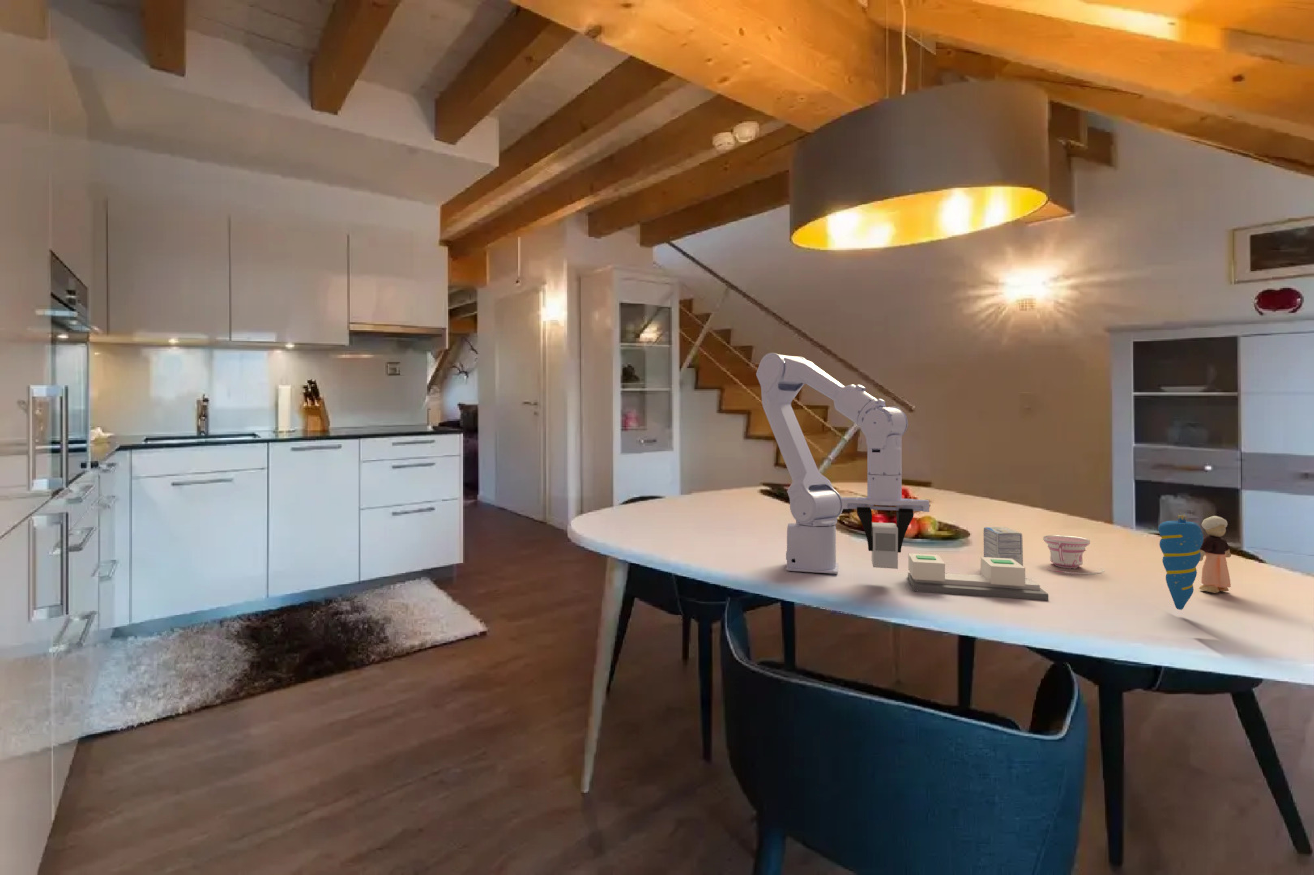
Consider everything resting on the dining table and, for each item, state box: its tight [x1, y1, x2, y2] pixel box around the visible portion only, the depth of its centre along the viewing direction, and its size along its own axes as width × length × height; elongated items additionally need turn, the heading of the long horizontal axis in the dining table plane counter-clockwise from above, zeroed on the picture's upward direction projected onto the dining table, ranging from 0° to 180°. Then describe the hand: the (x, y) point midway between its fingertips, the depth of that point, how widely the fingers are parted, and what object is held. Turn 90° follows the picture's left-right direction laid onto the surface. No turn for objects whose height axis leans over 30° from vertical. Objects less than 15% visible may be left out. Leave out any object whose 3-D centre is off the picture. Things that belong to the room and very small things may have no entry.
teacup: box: [1038, 534, 1105, 576], centre depth 120 cm, size 12×12×6 cm
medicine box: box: [983, 526, 1024, 567], centre depth 114 cm, size 8×4×9 cm, turn 168°
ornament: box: [1157, 510, 1204, 611], centre depth 91 cm, size 5×5×15 cm
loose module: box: [871, 521, 899, 570], centre depth 106 cm, size 4×6×7 cm, turn 163°
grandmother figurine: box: [1198, 515, 1232, 593], centre depth 103 cm, size 8×4×13 cm, turn 117°
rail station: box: [907, 552, 1049, 601], centre depth 104 cm, size 20×10×5 cm, turn 73°
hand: (884, 550), depth 107 cm, fingers closed on loose module, 4 cm apart
